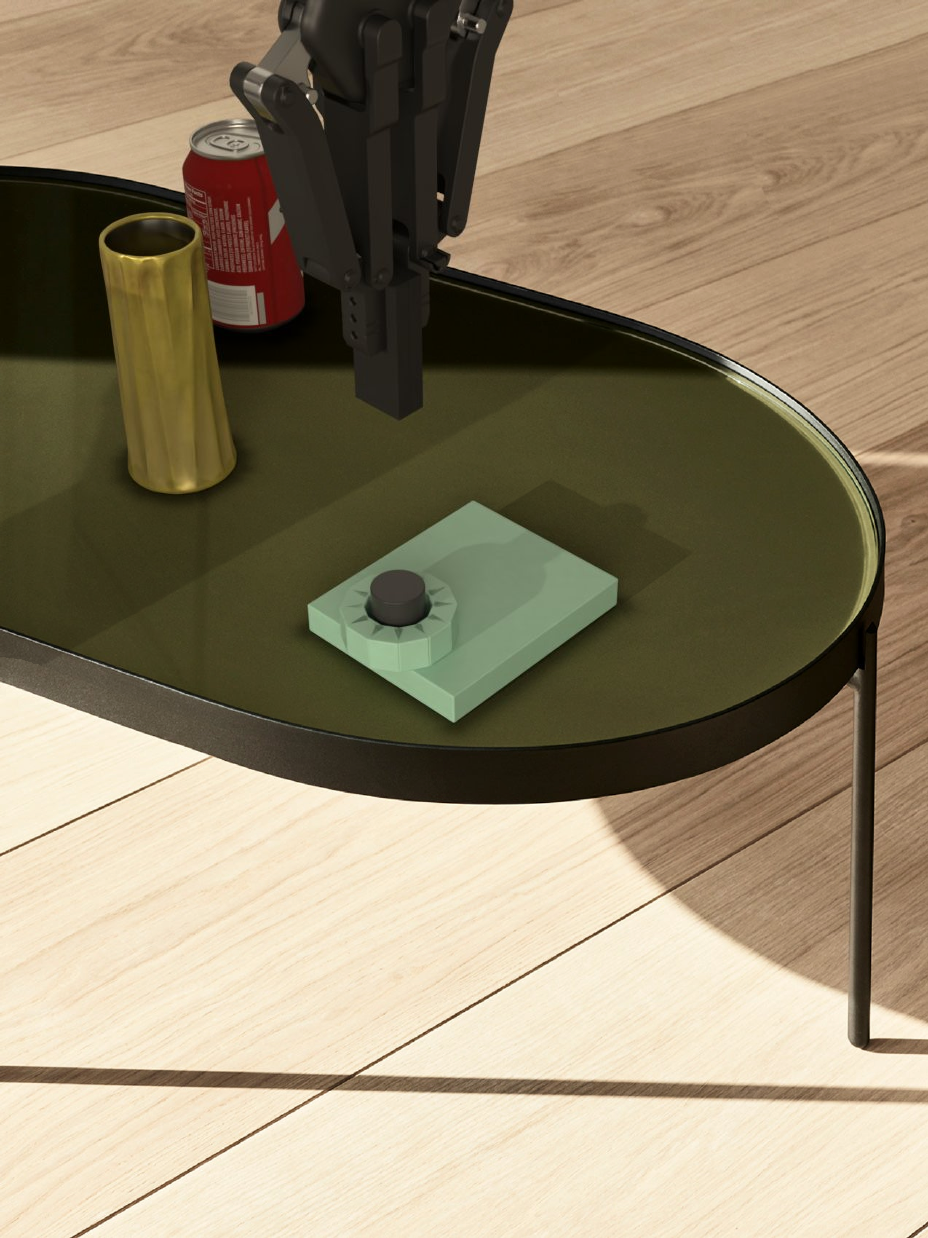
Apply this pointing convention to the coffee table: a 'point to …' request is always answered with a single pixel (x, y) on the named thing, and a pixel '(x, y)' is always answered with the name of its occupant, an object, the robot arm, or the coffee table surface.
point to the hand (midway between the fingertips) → (389, 401)
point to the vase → (166, 353)
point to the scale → (468, 609)
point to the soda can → (241, 229)
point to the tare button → (398, 598)
